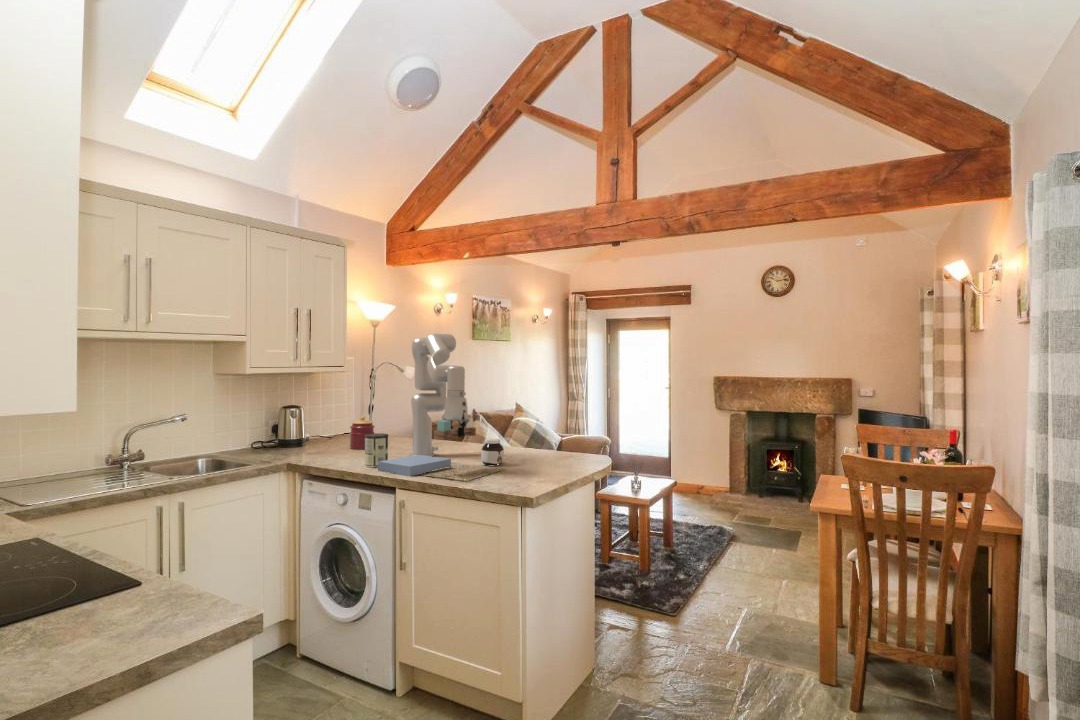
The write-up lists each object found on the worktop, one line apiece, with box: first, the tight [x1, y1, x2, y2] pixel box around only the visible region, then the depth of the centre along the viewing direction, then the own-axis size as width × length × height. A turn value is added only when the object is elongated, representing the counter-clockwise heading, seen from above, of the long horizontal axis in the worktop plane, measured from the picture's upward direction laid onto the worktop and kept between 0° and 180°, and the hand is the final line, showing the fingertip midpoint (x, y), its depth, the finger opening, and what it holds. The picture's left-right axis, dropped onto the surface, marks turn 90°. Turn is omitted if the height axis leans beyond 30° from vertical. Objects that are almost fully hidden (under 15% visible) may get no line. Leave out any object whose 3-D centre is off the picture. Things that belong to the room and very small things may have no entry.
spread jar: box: [480, 438, 505, 466], centre depth 262 cm, size 12×11×12 cm
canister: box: [349, 415, 376, 450], centre depth 311 cm, size 13×13×18 cm
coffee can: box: [364, 433, 389, 468], centre depth 256 cm, size 10×10×14 cm
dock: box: [377, 455, 452, 477], centre depth 247 cm, size 24×20×4 cm
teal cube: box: [436, 419, 452, 431], centre depth 239 cm, size 4×4×4 cm
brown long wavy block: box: [433, 426, 477, 441], centre depth 244 cm, size 20×6×4 cm, turn 146°
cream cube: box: [461, 417, 474, 428], centre depth 250 cm, size 4×4×4 cm
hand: (455, 435), depth 244 cm, fingers closed on brown long wavy block, 6 cm apart
